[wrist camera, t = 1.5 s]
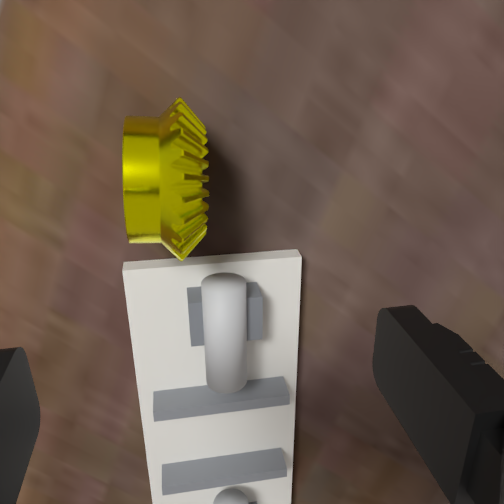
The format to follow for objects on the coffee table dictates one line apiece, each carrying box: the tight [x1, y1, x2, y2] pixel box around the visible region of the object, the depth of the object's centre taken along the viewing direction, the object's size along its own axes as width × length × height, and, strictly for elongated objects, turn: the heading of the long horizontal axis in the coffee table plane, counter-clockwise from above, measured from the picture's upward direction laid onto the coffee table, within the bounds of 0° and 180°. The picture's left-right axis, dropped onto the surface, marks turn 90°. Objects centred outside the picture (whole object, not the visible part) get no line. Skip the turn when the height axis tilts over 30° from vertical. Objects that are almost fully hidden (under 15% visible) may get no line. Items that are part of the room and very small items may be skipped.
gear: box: [122, 97, 209, 261], centre depth 23 cm, size 8×4×8 cm, turn 177°
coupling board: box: [122, 249, 302, 504], centre depth 33 cm, size 26×11×4 cm, turn 0°
